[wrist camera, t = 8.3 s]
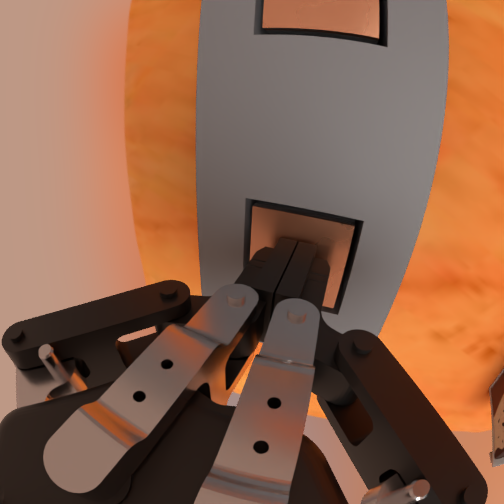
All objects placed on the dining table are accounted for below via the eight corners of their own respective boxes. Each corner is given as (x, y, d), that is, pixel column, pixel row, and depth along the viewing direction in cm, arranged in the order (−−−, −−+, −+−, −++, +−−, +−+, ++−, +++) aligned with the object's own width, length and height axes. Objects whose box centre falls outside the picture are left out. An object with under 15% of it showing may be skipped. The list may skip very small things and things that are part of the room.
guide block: (268, -33, 11) (214, -90, 4) (407, -19, 8) (429, -82, 2) (252, 256, 22) (204, 324, 16) (366, 282, 20) (362, 366, 13)
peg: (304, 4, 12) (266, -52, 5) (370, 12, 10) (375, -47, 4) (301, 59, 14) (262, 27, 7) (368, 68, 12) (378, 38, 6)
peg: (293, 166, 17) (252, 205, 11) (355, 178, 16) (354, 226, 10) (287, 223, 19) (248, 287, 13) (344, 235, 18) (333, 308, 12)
